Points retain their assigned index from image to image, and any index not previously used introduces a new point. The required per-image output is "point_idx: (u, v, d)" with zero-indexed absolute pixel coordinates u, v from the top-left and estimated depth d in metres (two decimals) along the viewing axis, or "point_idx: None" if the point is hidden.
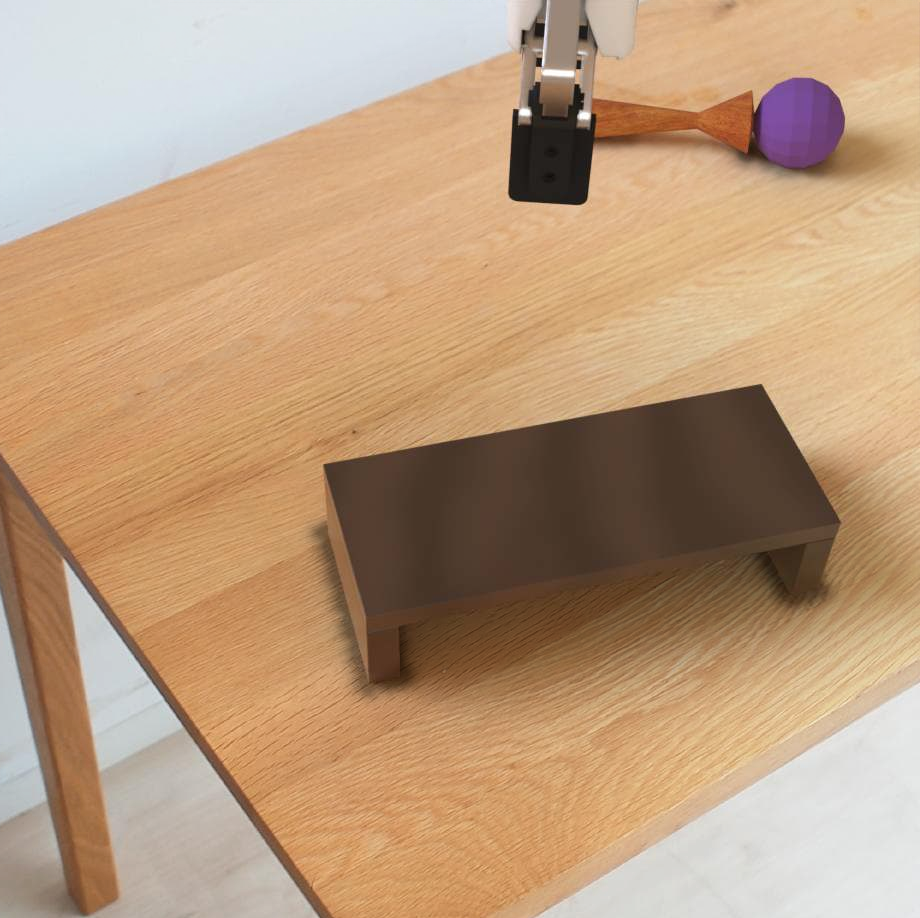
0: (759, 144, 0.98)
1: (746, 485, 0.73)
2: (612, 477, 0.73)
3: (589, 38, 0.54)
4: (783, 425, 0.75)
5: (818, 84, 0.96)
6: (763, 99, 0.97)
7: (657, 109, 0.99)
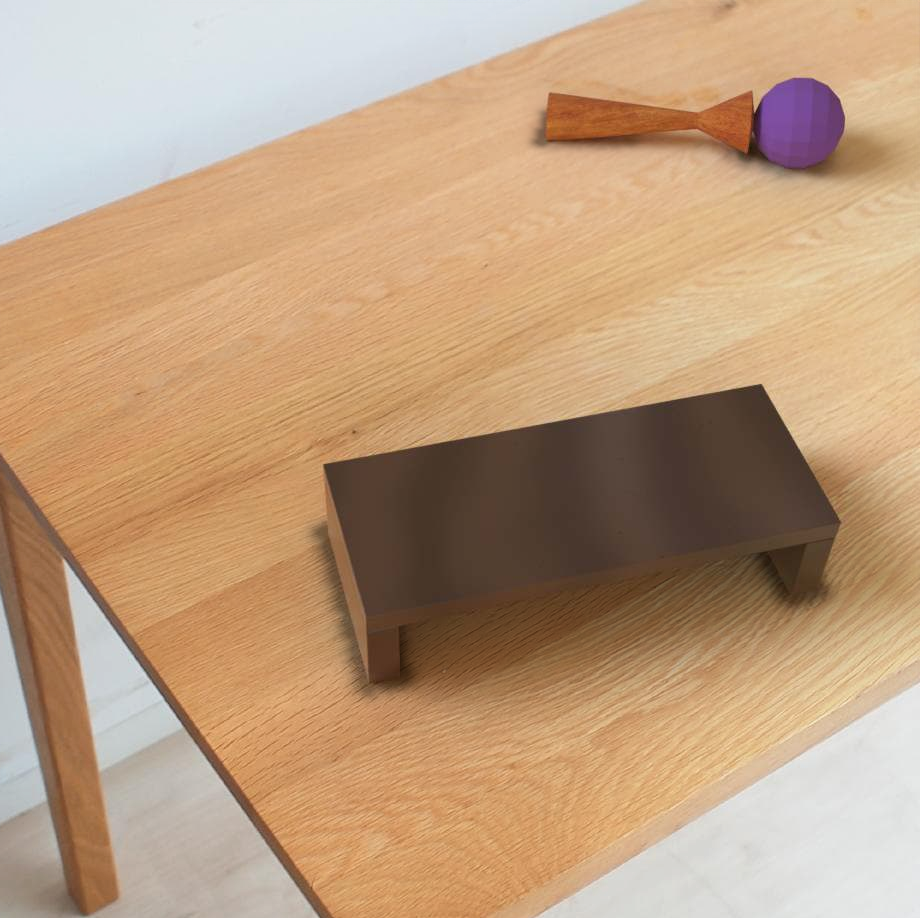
0: (759, 144, 0.98)
1: (746, 485, 0.73)
2: (612, 477, 0.73)
3: None
4: (783, 425, 0.75)
5: (818, 84, 0.96)
6: (763, 99, 0.97)
7: (657, 109, 0.99)
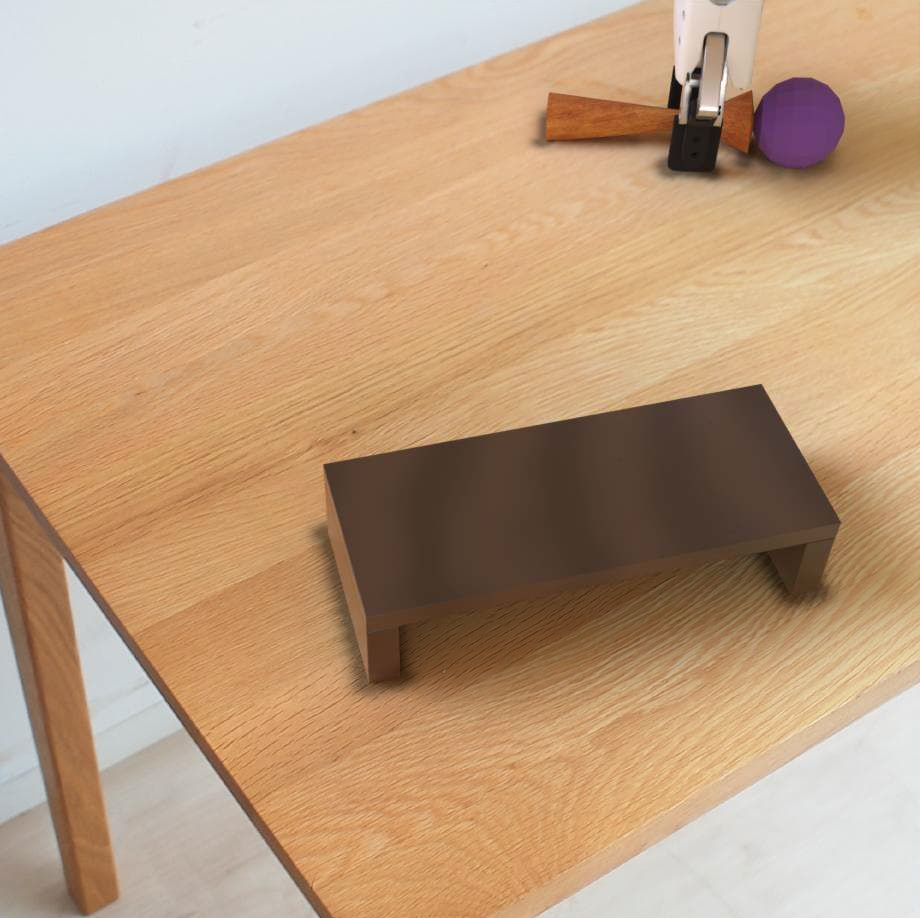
0: (759, 144, 0.98)
1: (746, 485, 0.73)
2: (612, 477, 0.73)
3: (723, 79, 0.93)
4: (783, 425, 0.75)
5: (818, 84, 0.96)
6: (763, 99, 0.97)
7: (657, 109, 0.99)
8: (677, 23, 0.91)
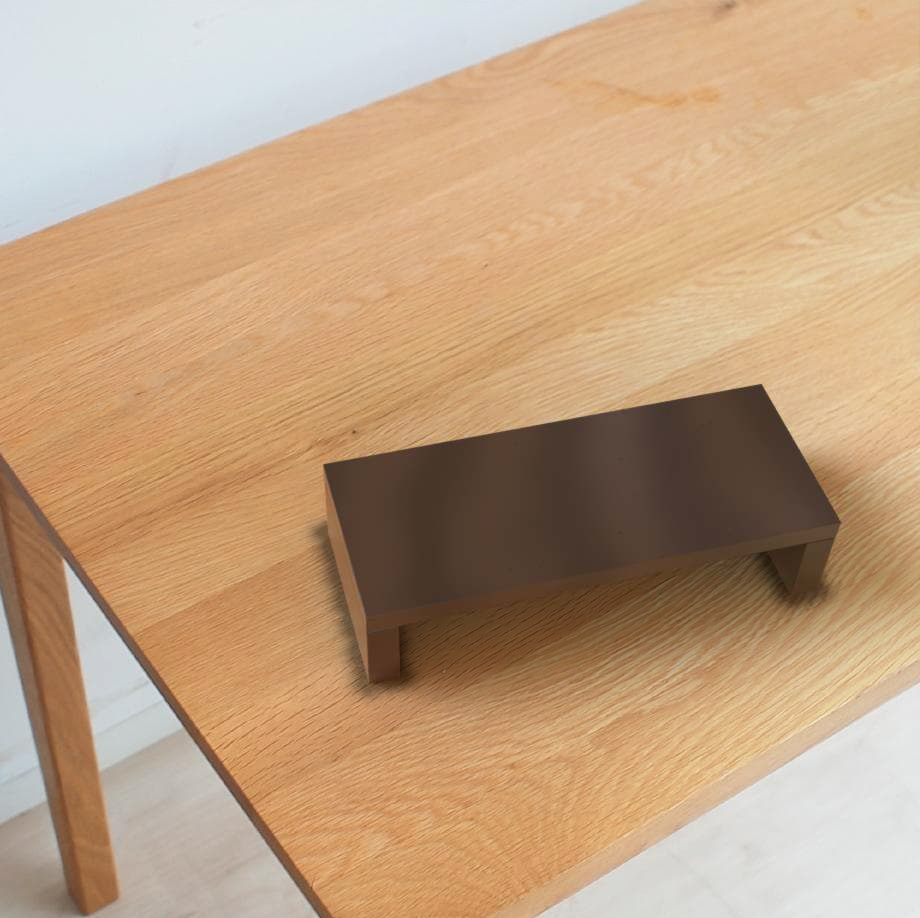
0: None
1: (746, 485, 0.73)
2: (612, 477, 0.73)
3: None
4: (783, 425, 0.75)
5: None
6: None
7: None
8: None
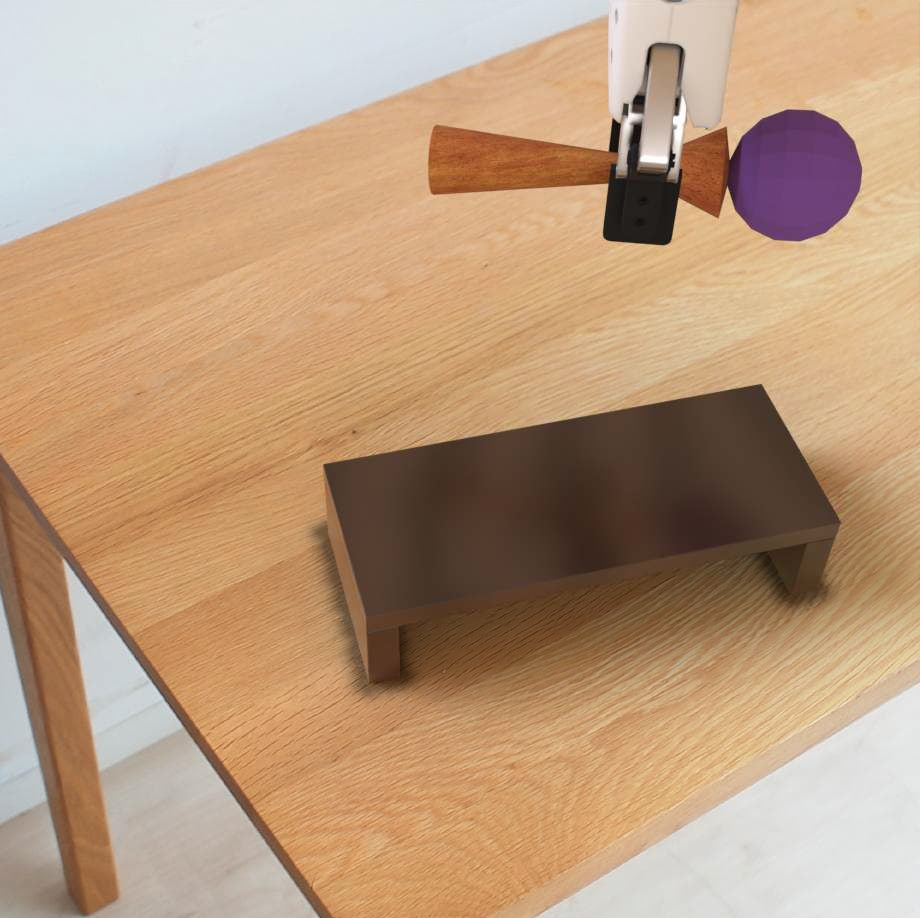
0: (736, 206, 0.67)
1: (746, 485, 0.73)
2: (612, 477, 0.73)
3: (680, 113, 0.62)
4: (783, 425, 0.75)
5: (823, 120, 0.65)
6: (742, 140, 0.66)
7: (588, 152, 0.68)
8: (609, 28, 0.60)
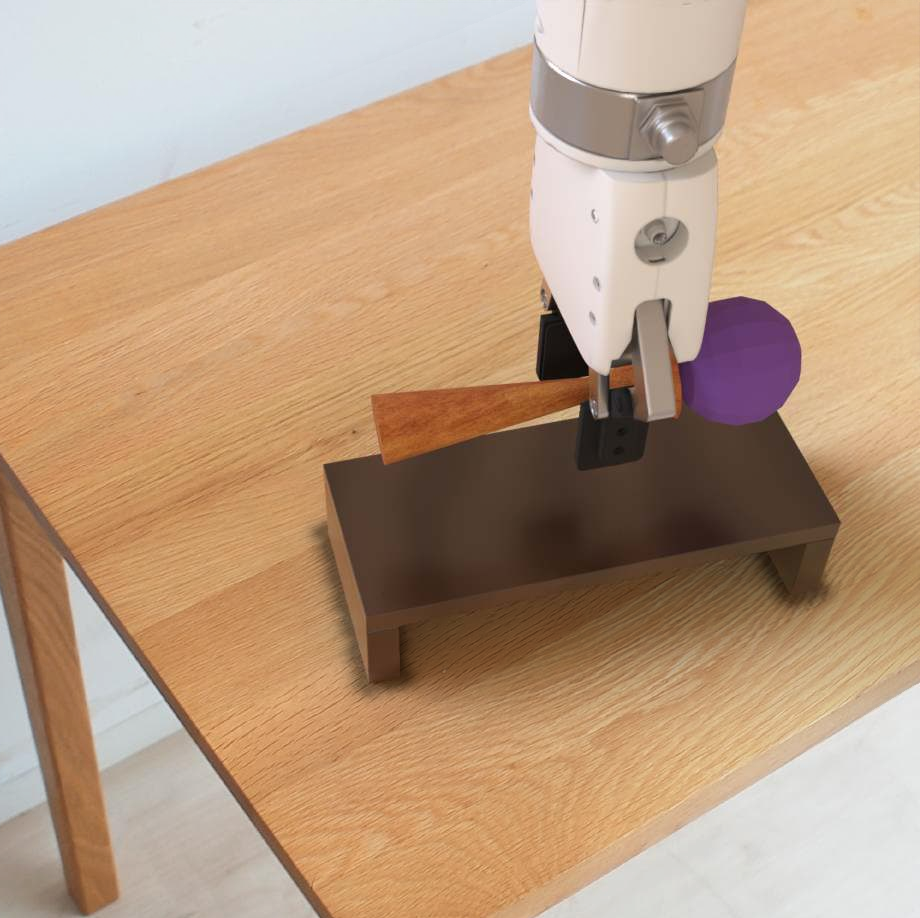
0: (692, 404, 0.67)
1: (746, 485, 0.73)
2: (612, 477, 0.73)
3: None
4: (783, 425, 0.75)
5: (758, 307, 0.66)
6: None
7: (536, 387, 0.66)
8: (578, 289, 0.58)
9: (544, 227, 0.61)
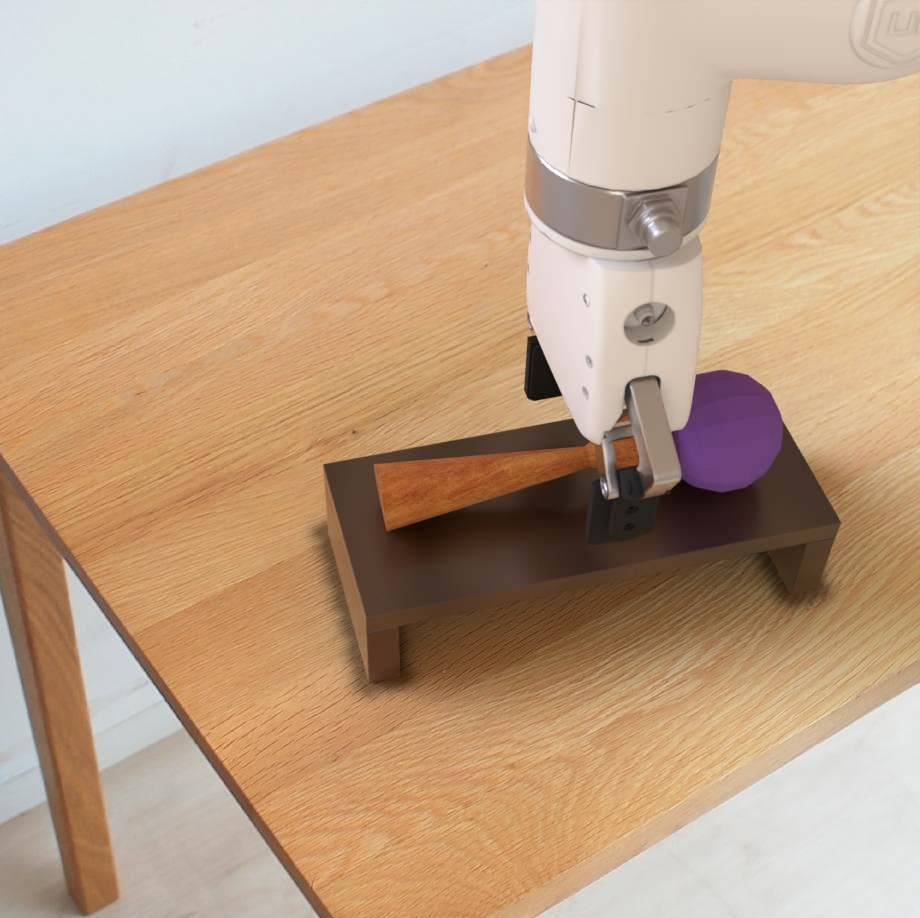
0: None
1: None
2: None
3: None
4: (783, 425, 0.75)
5: (741, 382, 0.69)
6: None
7: (530, 457, 0.70)
8: (572, 365, 0.61)
9: (540, 302, 0.64)
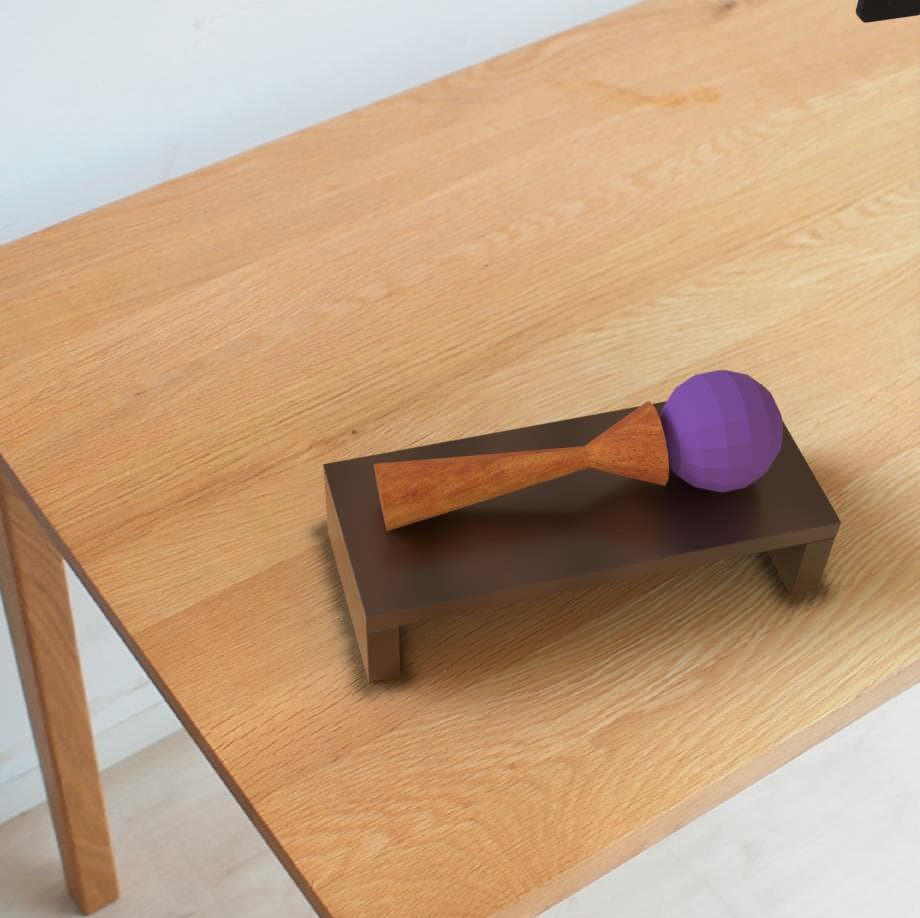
0: (678, 472, 0.70)
1: None
2: (612, 477, 0.73)
3: None
4: (783, 425, 0.75)
5: (742, 382, 0.69)
6: (671, 414, 0.70)
7: (530, 456, 0.70)
8: None
9: None
